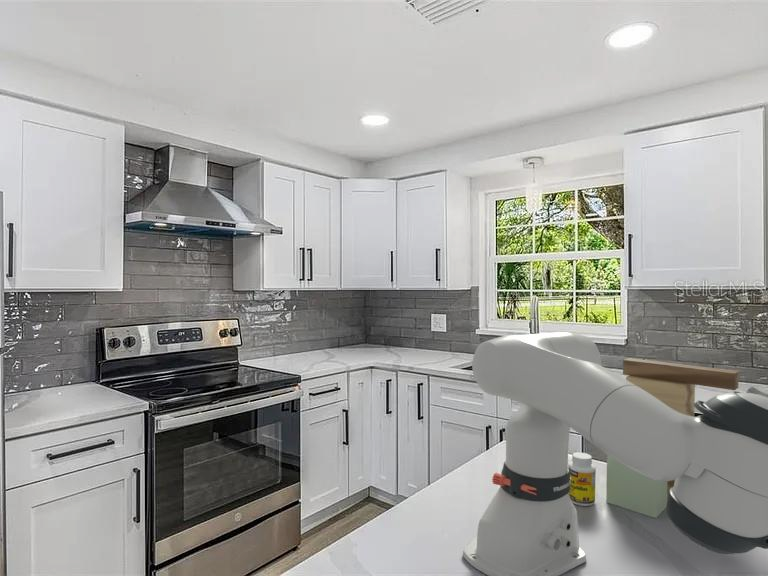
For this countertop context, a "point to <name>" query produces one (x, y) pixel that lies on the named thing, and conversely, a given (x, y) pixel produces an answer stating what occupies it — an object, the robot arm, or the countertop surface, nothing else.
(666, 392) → the stand
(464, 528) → the countertop surface
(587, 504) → the supplement bottle
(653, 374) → the batten
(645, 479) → the block
